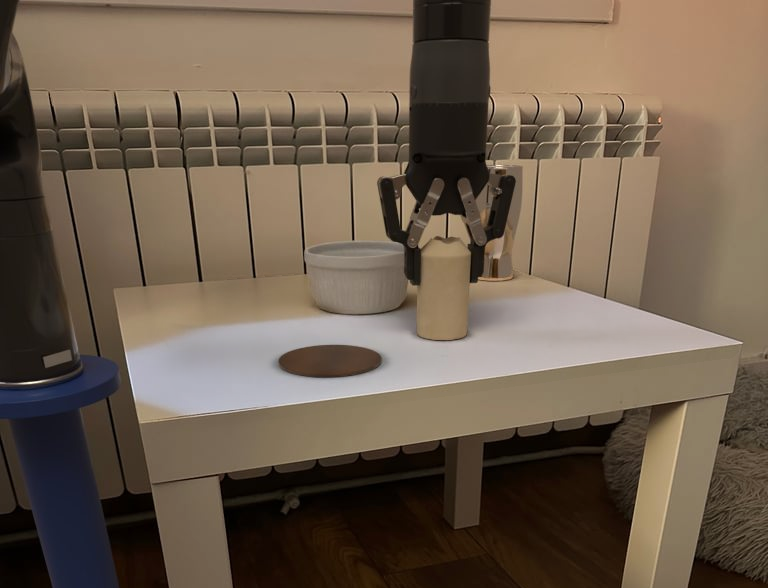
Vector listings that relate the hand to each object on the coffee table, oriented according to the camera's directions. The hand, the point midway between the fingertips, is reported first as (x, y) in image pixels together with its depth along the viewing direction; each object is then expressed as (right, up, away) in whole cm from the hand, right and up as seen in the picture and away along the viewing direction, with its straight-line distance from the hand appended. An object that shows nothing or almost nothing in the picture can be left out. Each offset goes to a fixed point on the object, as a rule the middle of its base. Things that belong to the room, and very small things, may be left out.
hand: (443, 282), depth 77 cm
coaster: (-12, -10, -6) cm, 16 cm away
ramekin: (-9, +2, +16) cm, 18 cm away
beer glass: (+10, +11, +32) cm, 35 cm away
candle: (0, -5, +3) cm, 6 cm away
